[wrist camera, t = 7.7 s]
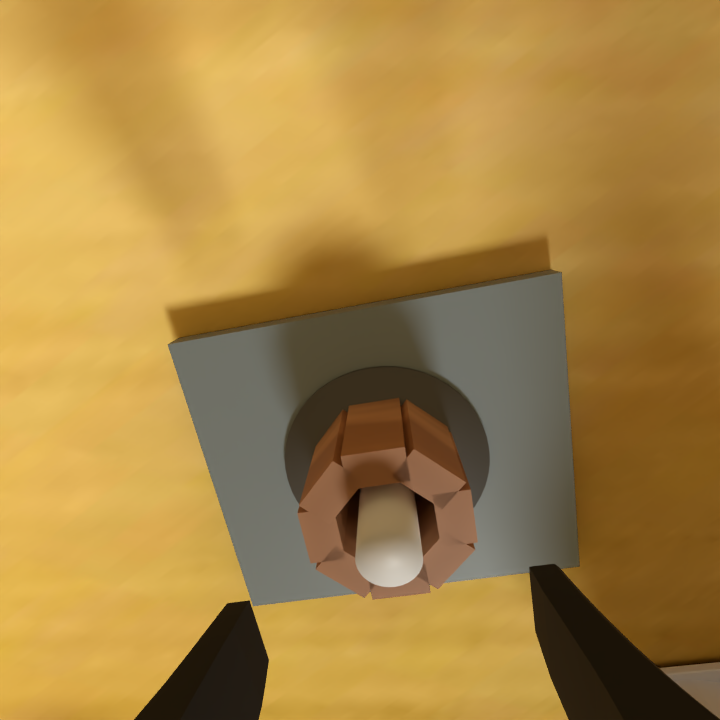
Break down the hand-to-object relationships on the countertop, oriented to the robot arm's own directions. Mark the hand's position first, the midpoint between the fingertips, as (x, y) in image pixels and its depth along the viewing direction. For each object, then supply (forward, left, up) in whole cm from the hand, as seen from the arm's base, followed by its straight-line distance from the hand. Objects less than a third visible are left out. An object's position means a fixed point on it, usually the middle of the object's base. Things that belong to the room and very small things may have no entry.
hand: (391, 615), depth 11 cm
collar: (0, 0, -7) cm, 7 cm away
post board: (0, 0, -8) cm, 9 cm away
